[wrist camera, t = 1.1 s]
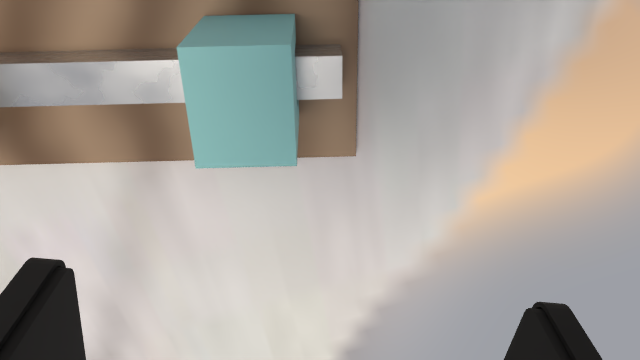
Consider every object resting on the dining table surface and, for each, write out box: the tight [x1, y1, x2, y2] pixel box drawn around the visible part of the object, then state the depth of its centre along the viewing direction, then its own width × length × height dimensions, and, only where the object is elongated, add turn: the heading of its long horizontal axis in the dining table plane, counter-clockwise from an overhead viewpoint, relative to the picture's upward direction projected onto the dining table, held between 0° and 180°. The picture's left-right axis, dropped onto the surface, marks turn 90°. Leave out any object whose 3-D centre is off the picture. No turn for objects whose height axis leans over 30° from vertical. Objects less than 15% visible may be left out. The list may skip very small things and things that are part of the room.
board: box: [0, 0, 358, 165], centre depth 30 cm, size 24×12×1 cm, turn 91°
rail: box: [0, 44, 342, 107], centre depth 28 cm, size 21×2×2 cm, turn 91°
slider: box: [176, 14, 299, 168], centre depth 26 cm, size 5×6×6 cm
